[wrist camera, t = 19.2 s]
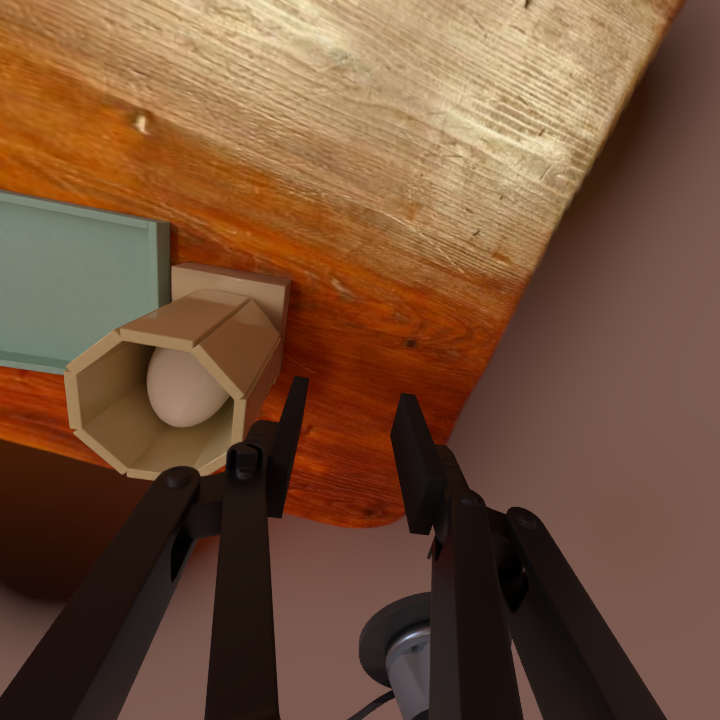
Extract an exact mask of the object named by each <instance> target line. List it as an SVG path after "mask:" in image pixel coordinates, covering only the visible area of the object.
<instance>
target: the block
mask: <svg viewBox="0 0 720 720" xmlns="http://www.w3.org/2000/svg"><path fill="white" fill-rule="evenodd" d="M199 289H200V290H201V289H208V290H214V291H219V292H228V293H232V294H236V295H239V296H245V297H249V301H251V300H253V301H254V302H255V303H256V305H257V306H258V307H259V308H260V309H261V310H262V311H263V312H264V313H265V314H266V315H267V317H268V318H269V319H270V321H271V322H272V324H273V326H274V327H275V329H276V330H277V331H278V333H279V334H280V335H279V337H278V338H281V343H280V351H279V358H278V366H277V374H276V377H275V379H274V382H273V384H275V382H276V380H277V378H278V375H279V373H280V371H281V366H282V358H283V349H284V341H285V332H286V324H287V315H288V306H289V298H290V289H291V280H288V279H282V278H277V277H272V276H266V275H261V274H255V273H250V272H244V271H239V270H234V269H228V268H223V267H217V266H212V265H207V264H201V263H196V262H190V261H189V262H185V263H182V264H178V265H174V266H172V302H173V301H175V300H177V299H180V298H182V297H184V296H186V295H188V294H190V293H192V292H194V291H197V290H199Z"/></svg>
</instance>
